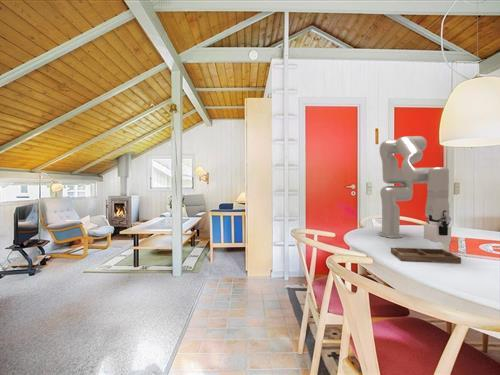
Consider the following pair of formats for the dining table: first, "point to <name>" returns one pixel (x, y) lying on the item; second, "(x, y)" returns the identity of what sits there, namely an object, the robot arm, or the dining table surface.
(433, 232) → the medicine bottle
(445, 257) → the tray
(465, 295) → the dining table surface
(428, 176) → the robot arm
